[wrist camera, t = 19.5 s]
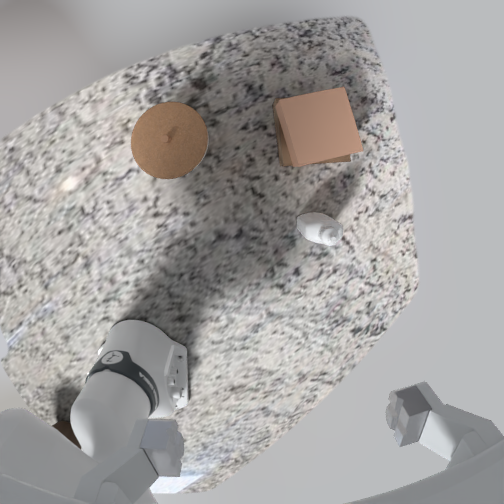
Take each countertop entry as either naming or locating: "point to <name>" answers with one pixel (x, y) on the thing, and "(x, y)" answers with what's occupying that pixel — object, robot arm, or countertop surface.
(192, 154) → the lidded jar
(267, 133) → the countertop surface
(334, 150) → the terracotta top block
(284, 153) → the walnut base block
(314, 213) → the eye dropper bottle
